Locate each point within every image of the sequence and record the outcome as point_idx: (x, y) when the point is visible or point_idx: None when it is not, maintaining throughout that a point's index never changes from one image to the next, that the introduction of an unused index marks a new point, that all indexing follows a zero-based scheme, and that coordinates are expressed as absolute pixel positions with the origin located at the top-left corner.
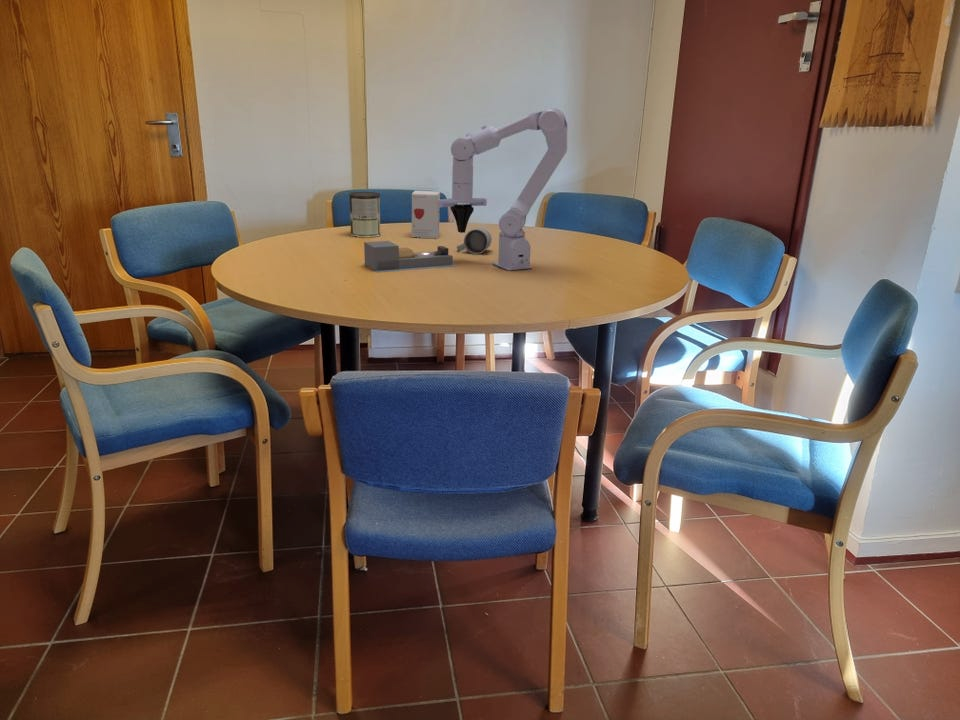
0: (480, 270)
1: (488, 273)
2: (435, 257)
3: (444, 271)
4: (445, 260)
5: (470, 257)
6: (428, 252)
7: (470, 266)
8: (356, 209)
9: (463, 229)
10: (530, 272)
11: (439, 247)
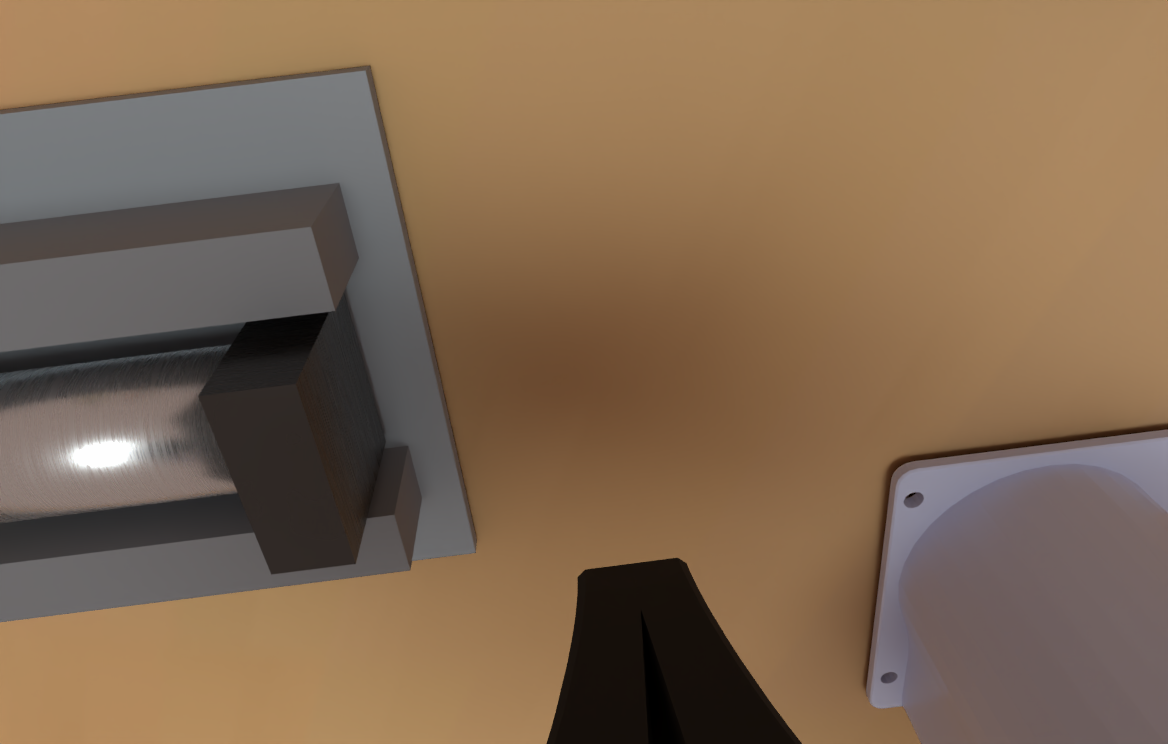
0: None
1: None
2: (174, 599)
3: (296, 636)
4: None
5: (866, 9)
6: (61, 502)
7: (622, 503)
8: None
9: (652, 739)
10: None
11: (228, 459)
